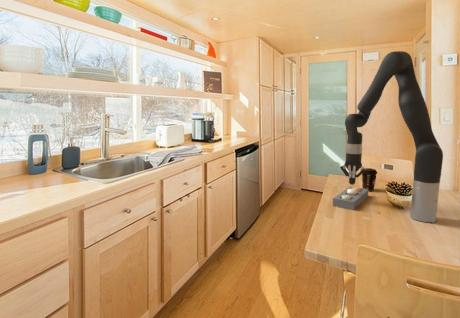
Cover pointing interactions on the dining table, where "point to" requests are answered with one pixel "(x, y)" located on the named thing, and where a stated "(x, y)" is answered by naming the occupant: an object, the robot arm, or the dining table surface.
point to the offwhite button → (351, 192)
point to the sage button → (346, 197)
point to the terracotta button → (357, 189)
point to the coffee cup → (369, 179)
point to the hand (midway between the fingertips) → (351, 184)
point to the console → (354, 199)
